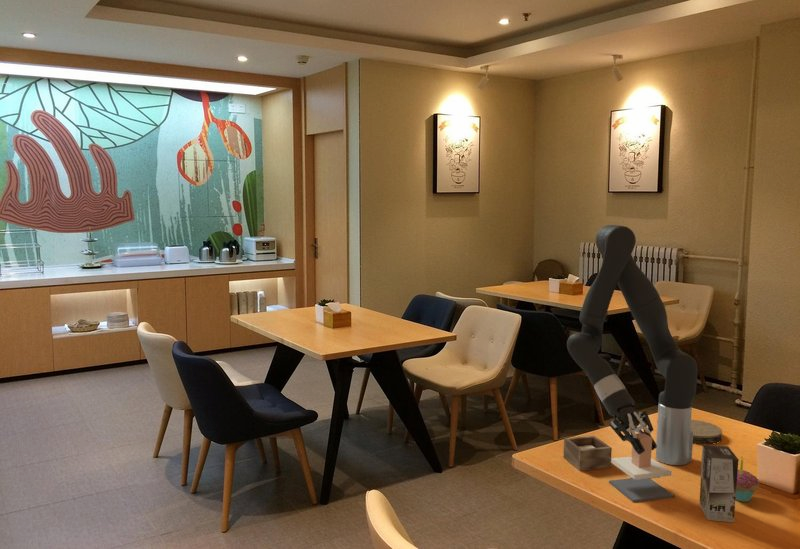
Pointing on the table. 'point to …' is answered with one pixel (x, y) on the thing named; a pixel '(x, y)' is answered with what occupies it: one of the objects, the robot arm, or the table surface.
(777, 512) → the table surface
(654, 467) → the lid
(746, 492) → the cupcake
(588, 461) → the box
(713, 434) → the tin can
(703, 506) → the coffee box
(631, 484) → the mat
